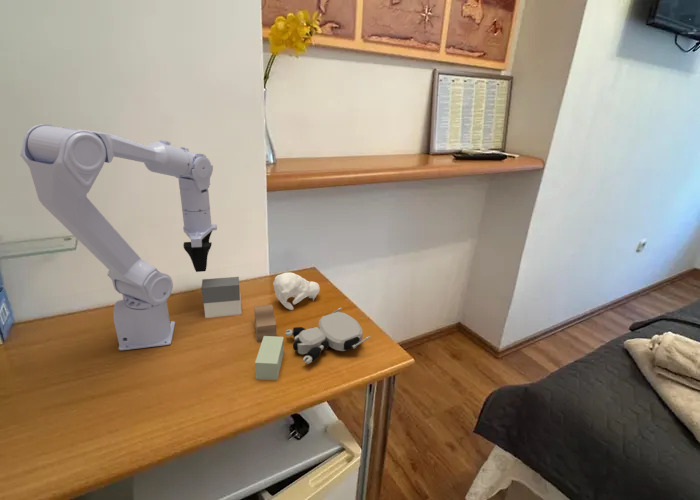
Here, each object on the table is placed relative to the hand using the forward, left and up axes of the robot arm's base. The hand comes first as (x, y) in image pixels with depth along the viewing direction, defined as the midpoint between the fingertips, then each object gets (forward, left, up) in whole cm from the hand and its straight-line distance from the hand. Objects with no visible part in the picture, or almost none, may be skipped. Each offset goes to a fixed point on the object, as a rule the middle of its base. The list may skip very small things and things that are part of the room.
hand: (201, 263), depth 90 cm
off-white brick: (+4, -5, -10) cm, 12 cm away
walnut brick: (+13, -14, -11) cm, 22 cm away
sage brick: (+13, -26, -11) cm, 31 cm away
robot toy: (+25, -22, -11) cm, 35 cm away
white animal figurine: (+22, -4, -11) cm, 25 cm away
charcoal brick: (+4, -5, -6) cm, 9 cm away
